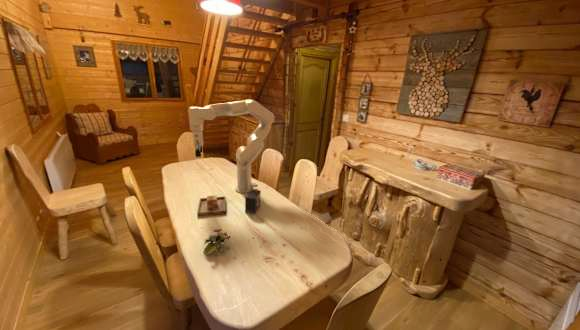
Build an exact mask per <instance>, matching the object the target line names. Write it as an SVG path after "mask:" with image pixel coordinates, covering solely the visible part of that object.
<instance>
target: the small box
mask: <svg viewBox="0 0 580 330" xmlns="http://www.w3.org/2000/svg"><path fill="white" fill-rule="evenodd" d="M261 192H262V191H261V190H255V189H253V190H251V191H250V192H248V193H246V195H245V198H244V201H245V205H244V206H245V207H244V209H245V211H244V212H245V213H248V214H253V215H254V214H256V213H257V211H258V210H259V209H260V206H261Z"/></svg>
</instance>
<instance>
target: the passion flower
mask: <svg viewBox="0 0 580 330" xmlns="http://www.w3.org/2000/svg"><path fill="white" fill-rule="evenodd" d="M212 231H213V232H214V234H210V235H209V236H208V239H207V238H205V239H204V242H203V245H206V244H207V245H206V246H205V248H204V249H203V254H207V255H209V254H210V253H212V252H214V250H215V252H216V253H217V254H218V255H221V253H222V251H223V249H224V248H225V245H226V243H227V242H228V240H230V238H231V235H228V233H227V231H225V232H222V233H221V231H222V229H221V228H220V229H219V228H218V229H217V228H216V229H213V230H212ZM215 232H216V233H215ZM219 232H220V233H219ZM225 240H226V241H225ZM222 243H224V244H223V245H221V244H222Z"/></svg>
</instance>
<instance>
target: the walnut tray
mask: <svg viewBox="0 0 580 330" xmlns="http://www.w3.org/2000/svg"><path fill="white" fill-rule="evenodd" d="M226 202H227V199H226V196H217V208H209V209H207V197H200V198H199V202H198V208H197V213H196V214H197V215H196V216H197V217H209V216H219V215H220V216H221V215H227V204H226Z"/></svg>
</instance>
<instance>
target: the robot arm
mask: <svg viewBox="0 0 580 330" xmlns="http://www.w3.org/2000/svg"><path fill="white" fill-rule="evenodd" d="M247 114H250V115H251V116H252V117H254V118H255V119H257V120H258V125H257V127H256V128H255V129H254V130H253V132H252V133H251V134H250V135H249V136H248V137H247V141H246V143H247V146H246V145H240V146H239V147H238V148H237V149H236V151H235V158H236V177H237V178H236V179H237V181H236V182H237V186H235V191H236V192H237V193H240V194H248V193H249V192H250V191H251V190H254V188H258V187H259V185H258V184H259V183H258V184H257V183H256V182H253V183H252V163H253V161H255V159H256V158H257V157H258V156H259V155H260V154H261V152H262V151H263V149H264V148H265V142H264V140H265V139H266V137H267V136H268V135H269V133H270V132H271V128H272V124H273V123H275V114H274V113H273V112H272V111H270V110H269V109H268V108H266V107H265V106H264V105H262V104H261V103H260V102H258V101H256V100H254V99H252V98H251V99H242V100H237V101H228V102H224V103H214V104H207V105H205V106H203V107H201V106H189V107H188V120H189V121H188V122H189V129H190V131H191V132H192V140H193V141H192V143H193V147H194V155H195V158H202V153H203V147H204V139H203V138H204V136H203V131H204V120H206V121H211V120H214V119H215V118H216V117H218V116H229V117H235V116H240V115H247Z"/></svg>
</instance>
